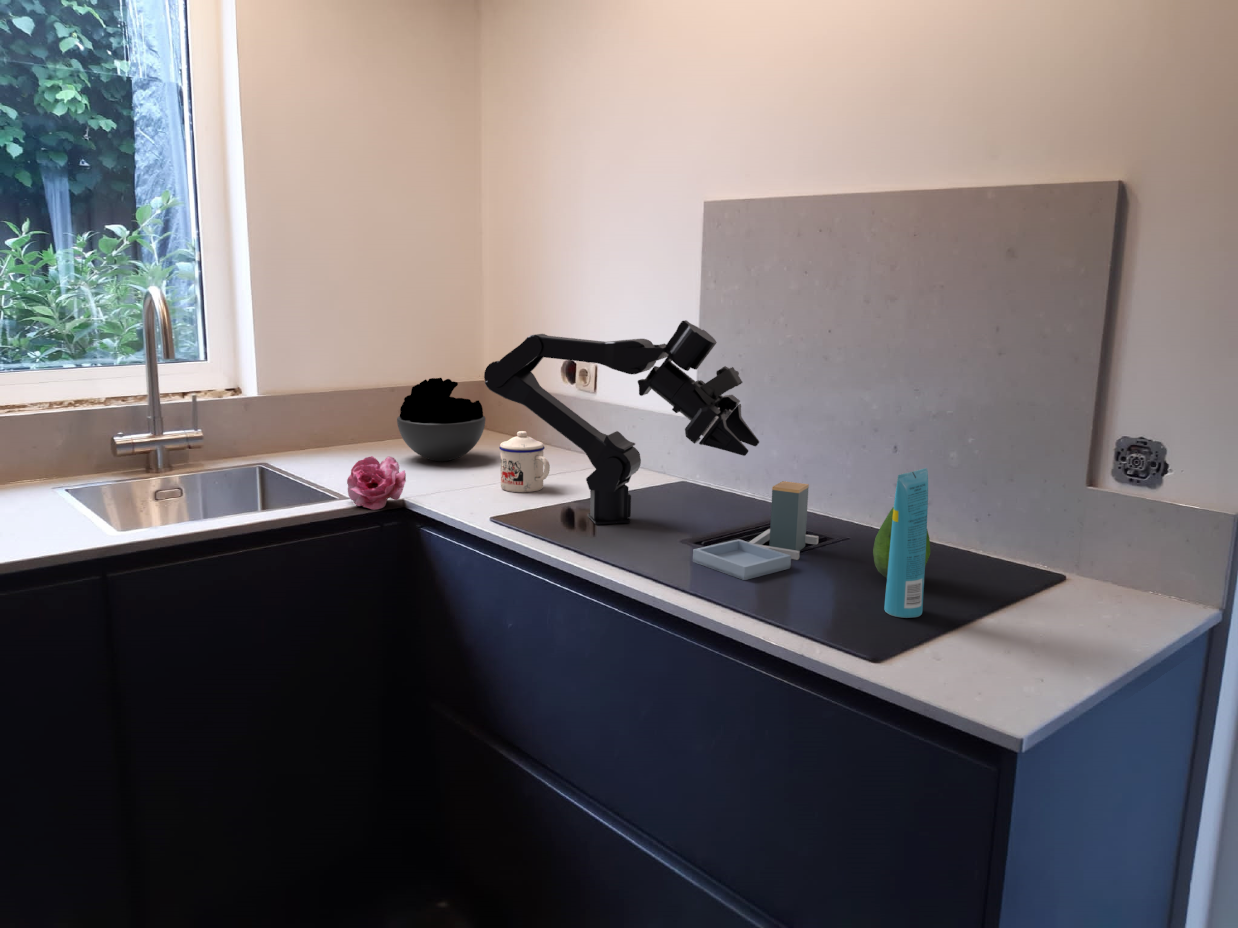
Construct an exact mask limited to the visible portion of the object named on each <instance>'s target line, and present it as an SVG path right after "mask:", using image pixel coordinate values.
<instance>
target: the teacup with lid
mask: <svg viewBox="0 0 1238 928" xmlns="http://www.w3.org/2000/svg"><path fill="white" fill-rule="evenodd" d="M516 435H517V436H513V437H511V438H510V439H508V440H506V441H502V442H501V443H500V444H499V445H500V446H499V450H500V488H501V489H502V490H504V491H506V492H512V493H532V492H538V491H541V490H542V489H543V488H544V480H546V479H547V477H548V476H549V474H550V471H551V469H550V468H551V467H550V462H549V460H548V459H547V458H546V457H545V456H544V450H545V445H544V443H543V442H541V441H538V440H536V439H535V438H532V437H531V436H528V432H527V431H525V430H524V431H523V430H521V431H517V433H516Z"/></svg>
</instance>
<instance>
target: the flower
mask: <svg viewBox="0 0 1238 928" xmlns="http://www.w3.org/2000/svg"><path fill="white" fill-rule="evenodd" d="M406 477H407V476H406V470H404V469H403V470H402V471H400V464H399V462H397V460H396V459H395V457H393V456H387V457H385V459H383V460H382V461H381V462H380V461H379V460H378V459H377V458H376V457H374V456H373V455H371V456H367V457H364V458H363V459H359V460H357V462H355V463H354V465H353V466H352V467H351V469H350V475H348V477H347V479H346V485H347V494H348V497H349V499H350V500H351V501H353V502H354V503H355V505H356V506H357V507H361V506H362V508H367V509H369V510H375V511H376V510H380V509H383V508H385V506H386V505H387V502H388V500H389V499H392V500H394V501H397V500H398V501H399V499H400V497H401V495H402V493H403V490H404V487H405V485H406V482H407V479H406Z"/></svg>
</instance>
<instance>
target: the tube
mask: <svg viewBox="0 0 1238 928" xmlns="http://www.w3.org/2000/svg"><path fill="white" fill-rule="evenodd" d="M894 493H895V494H894V502H893V503H894V504H893V507H894V509H893V519H892V530H891V541H890V552H889V563H888V574H887V578H886V586H885V596H884V608H883V610H884V611H885V613H887V614H888V615H889V616H892V617H896V618H902V619H903V618H905V619H908V618H910V619H911V618H919V617H920V616H921V615H922V614H923V606H924V590H925V589H924V588H925V572H926V571H925V570H926V566H925V555H926V535H927V530H928V527H927V526H928V514H929V513H928V511H929V509H928V508H929V470H928V468H927V467H924V468H921V469H916V470H913V471H910V472H909V471H908V472H904V473H901V474H897V480H896V487H895V492H894Z"/></svg>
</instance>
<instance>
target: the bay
mask: <svg viewBox="0 0 1238 928" xmlns="http://www.w3.org/2000/svg"><path fill="white" fill-rule="evenodd" d="M769 541H770V528H768V529H766V530H765V531H763V532H762V533H760V534H758V535H757V536H756V537H754V538H753V539H752V540H750V541H749V542H750V543H753V544H756V545H759V546H762V547H765V548H769V549H772V550H775V551H778V552H781V553H784V554H787V555H791V560H793V561H798V560H799V559H800V552H801V550H800V551H796V550H790V549H784V548H777V547H771V546H769V545H764V544H765V543H767V542H769ZM805 544H809V545H818V544H819V535H812V534H806V538H805Z"/></svg>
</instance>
